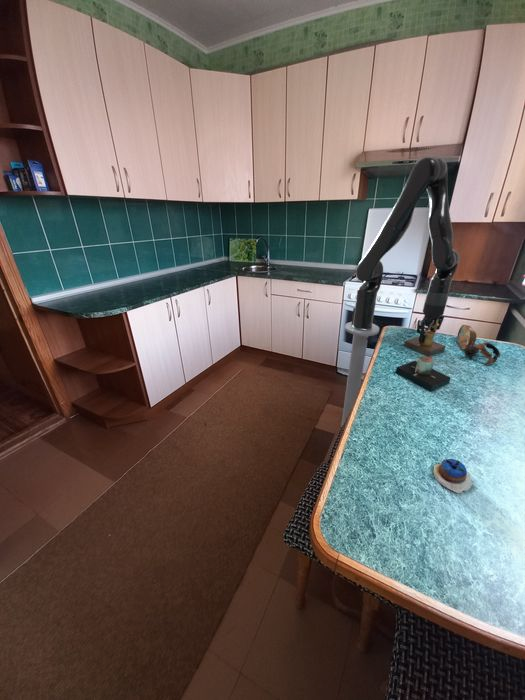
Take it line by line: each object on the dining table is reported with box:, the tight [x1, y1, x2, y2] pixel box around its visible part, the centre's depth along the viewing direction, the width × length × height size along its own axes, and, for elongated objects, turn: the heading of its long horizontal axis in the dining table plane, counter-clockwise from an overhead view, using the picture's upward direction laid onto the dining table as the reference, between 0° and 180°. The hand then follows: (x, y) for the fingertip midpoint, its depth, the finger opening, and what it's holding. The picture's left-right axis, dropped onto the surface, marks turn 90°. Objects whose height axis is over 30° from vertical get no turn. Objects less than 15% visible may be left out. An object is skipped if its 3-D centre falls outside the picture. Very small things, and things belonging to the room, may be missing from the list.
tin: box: [456, 324, 477, 351], centre depth 124 cm, size 15×3×8 cm, turn 161°
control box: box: [395, 360, 452, 392], centre depth 103 cm, size 14×10×3 cm
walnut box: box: [403, 336, 446, 357], centre depth 124 cm, size 12×10×3 cm
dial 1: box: [419, 329, 435, 346], centre depth 123 cm, size 5×5×5 cm
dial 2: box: [415, 355, 435, 376], centre depth 102 cm, size 5×5×5 cm
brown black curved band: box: [463, 341, 501, 366], centre depth 114 cm, size 12×10×8 cm
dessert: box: [433, 458, 473, 494], centre depth 66 cm, size 8×7×6 cm
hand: (425, 340), depth 123 cm, fingers closed on dial 1, 5 cm apart
